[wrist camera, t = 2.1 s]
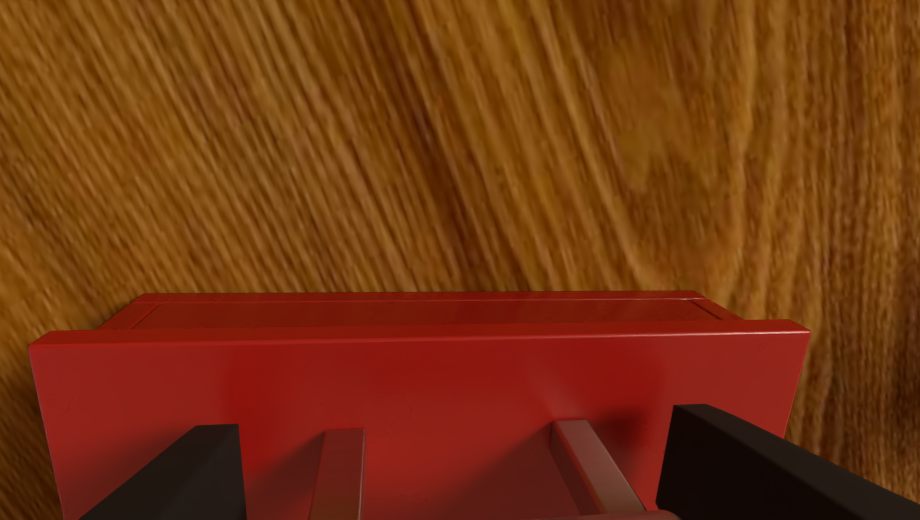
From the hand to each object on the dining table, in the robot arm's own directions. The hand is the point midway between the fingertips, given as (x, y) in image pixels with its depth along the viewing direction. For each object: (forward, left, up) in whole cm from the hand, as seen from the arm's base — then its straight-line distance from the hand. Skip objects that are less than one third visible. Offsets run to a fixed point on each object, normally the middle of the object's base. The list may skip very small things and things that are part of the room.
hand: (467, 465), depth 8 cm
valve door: (0, -3, -1) cm, 3 cm away
